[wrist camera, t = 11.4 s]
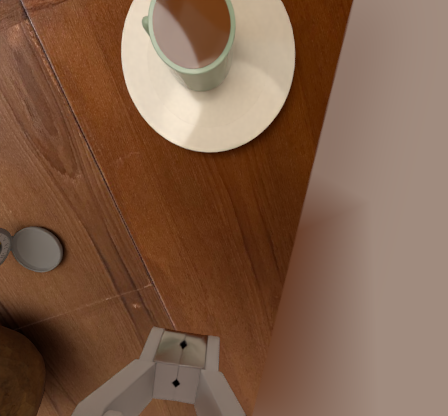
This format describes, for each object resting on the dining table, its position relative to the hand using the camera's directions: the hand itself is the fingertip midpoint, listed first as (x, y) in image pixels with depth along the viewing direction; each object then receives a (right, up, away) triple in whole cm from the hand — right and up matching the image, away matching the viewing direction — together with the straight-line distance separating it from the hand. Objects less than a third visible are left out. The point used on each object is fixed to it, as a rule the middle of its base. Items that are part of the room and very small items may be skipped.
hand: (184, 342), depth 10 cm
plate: (0, +22, +16) cm, 27 cm away
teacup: (-1, +22, +13) cm, 25 cm away
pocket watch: (-25, +1, +22) cm, 33 cm away
